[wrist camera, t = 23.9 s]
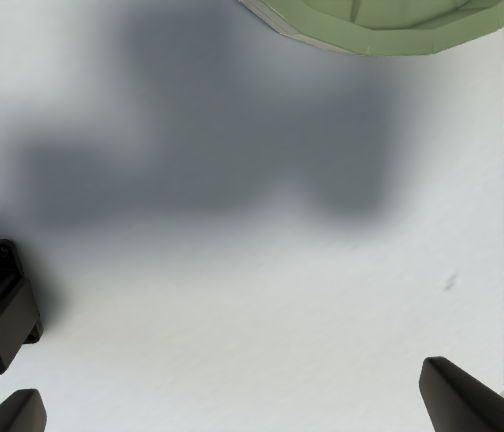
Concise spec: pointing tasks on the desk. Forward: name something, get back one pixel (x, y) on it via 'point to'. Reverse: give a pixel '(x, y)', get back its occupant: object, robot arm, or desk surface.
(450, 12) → the bowl
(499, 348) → the desk surface
